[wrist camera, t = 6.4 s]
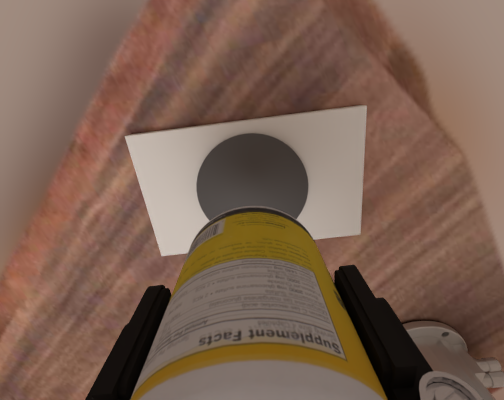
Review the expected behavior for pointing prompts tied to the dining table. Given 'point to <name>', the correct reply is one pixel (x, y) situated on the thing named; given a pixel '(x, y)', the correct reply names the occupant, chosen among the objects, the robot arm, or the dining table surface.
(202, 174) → the pad
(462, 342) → the robot arm
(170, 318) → the pill bottle
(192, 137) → the board
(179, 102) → the dining table surface
